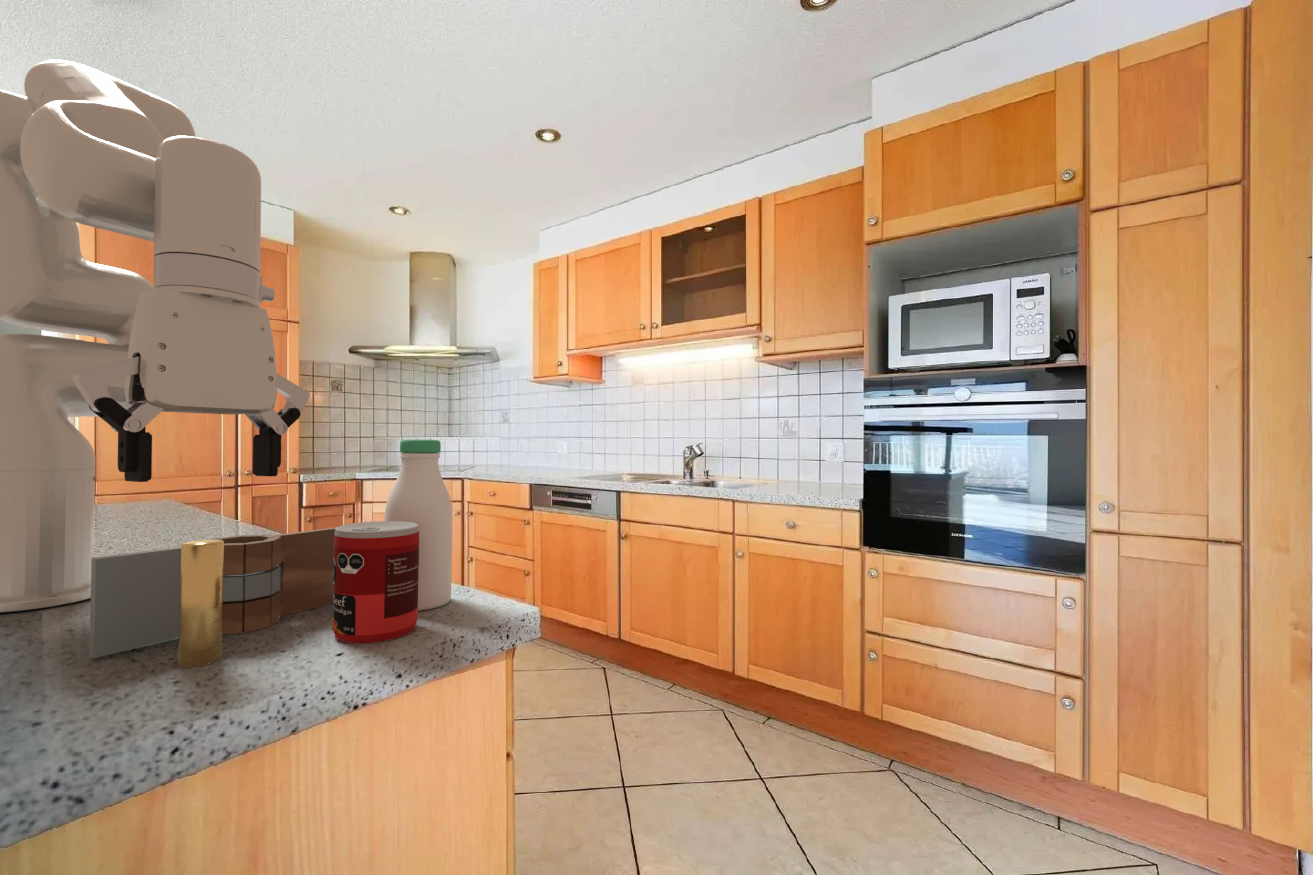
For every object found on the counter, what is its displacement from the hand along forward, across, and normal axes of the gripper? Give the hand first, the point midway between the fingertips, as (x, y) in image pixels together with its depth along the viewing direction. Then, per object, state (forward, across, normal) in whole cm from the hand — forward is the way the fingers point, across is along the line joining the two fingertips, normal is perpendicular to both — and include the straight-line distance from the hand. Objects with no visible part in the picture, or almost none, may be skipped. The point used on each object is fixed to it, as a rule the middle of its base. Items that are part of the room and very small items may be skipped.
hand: (206, 478), depth 51 cm
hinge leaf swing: (+16, -3, -9) cm, 18 cm away
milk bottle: (+16, -22, 0) cm, 28 cm away
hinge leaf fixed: (+16, -12, -9) cm, 22 cm away
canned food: (+17, -13, +5) cm, 22 cm away
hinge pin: (+16, 0, -1) cm, 16 cm away
